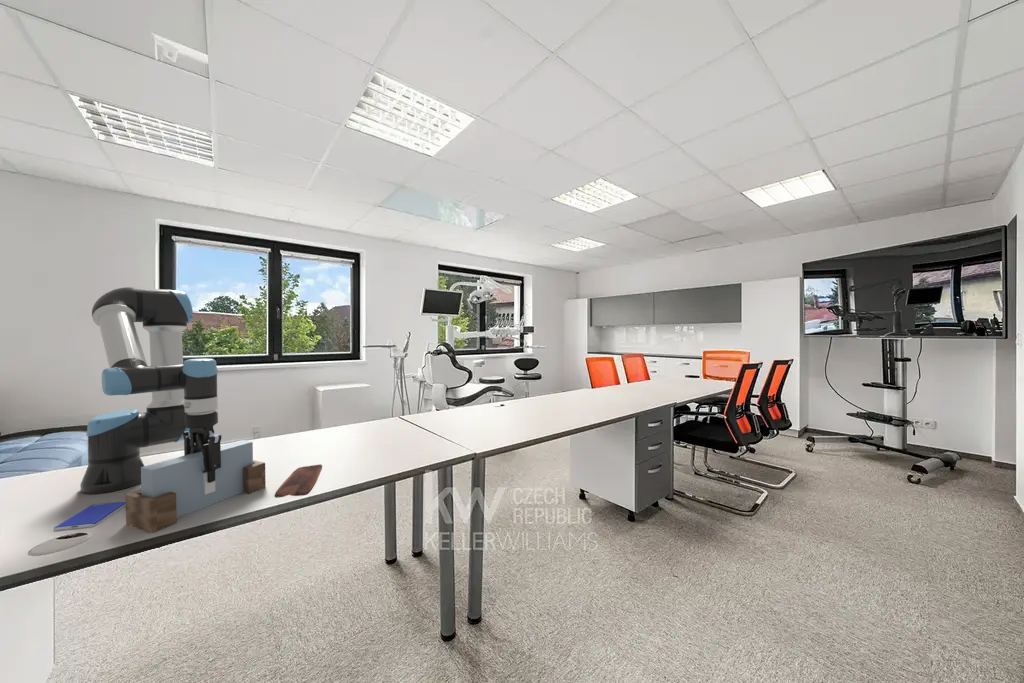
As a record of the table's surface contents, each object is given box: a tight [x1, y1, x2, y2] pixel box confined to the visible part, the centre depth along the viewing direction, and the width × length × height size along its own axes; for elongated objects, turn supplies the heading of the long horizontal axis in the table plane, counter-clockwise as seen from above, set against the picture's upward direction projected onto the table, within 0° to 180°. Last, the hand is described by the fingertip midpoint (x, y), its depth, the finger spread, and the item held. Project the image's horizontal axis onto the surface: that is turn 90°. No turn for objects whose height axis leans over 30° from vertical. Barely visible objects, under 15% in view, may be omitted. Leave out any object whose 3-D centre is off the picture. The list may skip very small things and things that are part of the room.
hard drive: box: [53, 501, 126, 532], centre depth 104 cm, size 2×8×12 cm
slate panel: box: [140, 439, 254, 518], centre depth 111 cm, size 5×26×15 cm, turn 159°
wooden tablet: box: [274, 463, 323, 498], centre depth 130 cm, size 26×2×10 cm
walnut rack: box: [124, 459, 266, 534], centre depth 112 cm, size 11×30×8 cm, turn 159°
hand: (203, 490), depth 111 cm, fingers closed on slate panel, 5 cm apart
